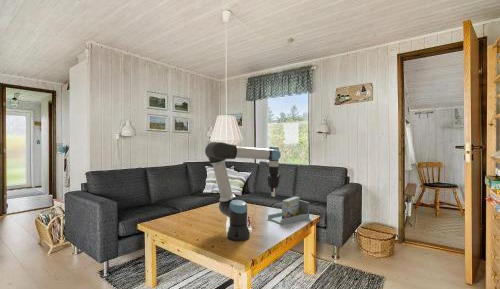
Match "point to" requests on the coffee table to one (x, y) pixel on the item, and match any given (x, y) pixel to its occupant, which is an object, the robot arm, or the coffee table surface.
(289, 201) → the snack box
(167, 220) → the coffee table surface
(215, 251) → the coffee table surface
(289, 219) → the shelf
